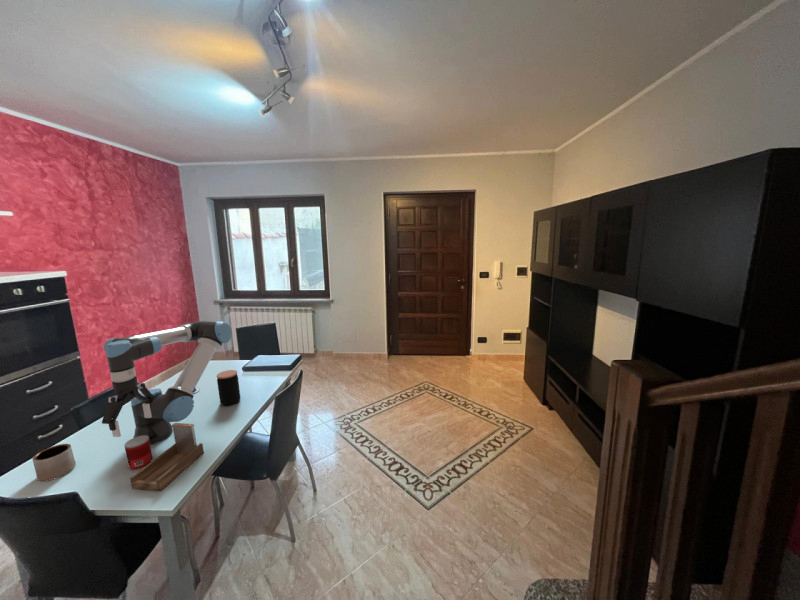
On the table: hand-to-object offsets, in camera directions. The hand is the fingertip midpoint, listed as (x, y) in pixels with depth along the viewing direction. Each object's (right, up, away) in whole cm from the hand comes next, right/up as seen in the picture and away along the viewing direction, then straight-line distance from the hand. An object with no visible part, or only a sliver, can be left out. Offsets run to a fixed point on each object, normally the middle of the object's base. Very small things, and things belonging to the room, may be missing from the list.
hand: (133, 426), depth 130 cm
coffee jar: (+11, -8, +55) cm, 56 cm away
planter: (-31, -19, 0) cm, 37 cm away
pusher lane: (+16, -18, 0) cm, 24 cm away
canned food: (0, -18, +4) cm, 18 cm away
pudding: (-23, -6, +69) cm, 73 cm away
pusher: (+17, -15, +8) cm, 24 cm away
